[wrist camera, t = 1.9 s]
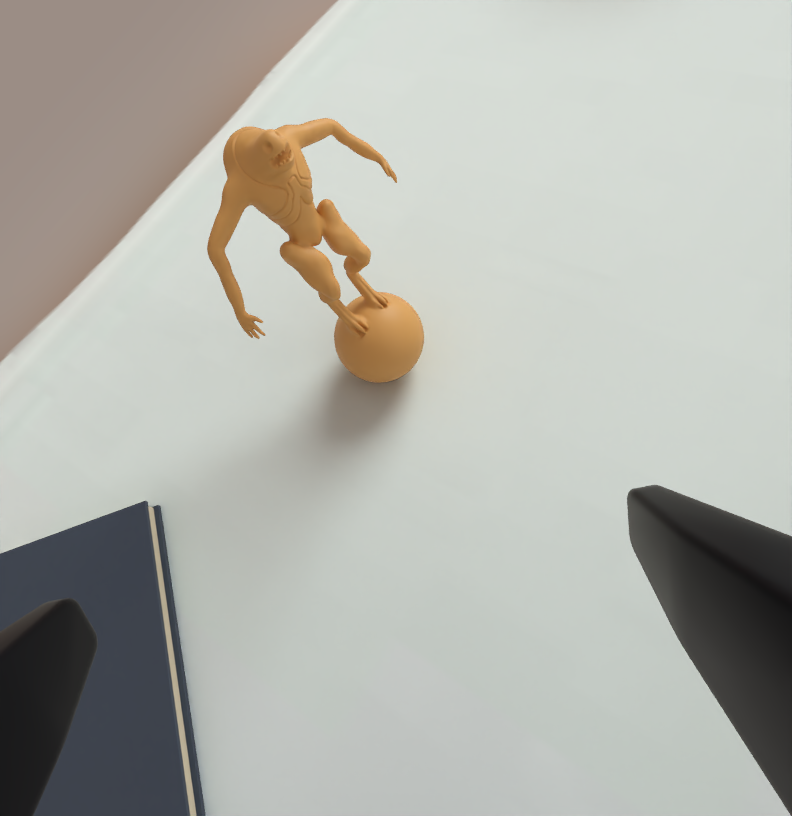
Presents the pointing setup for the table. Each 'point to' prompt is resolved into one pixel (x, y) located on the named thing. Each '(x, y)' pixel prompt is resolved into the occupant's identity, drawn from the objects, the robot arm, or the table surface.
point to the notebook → (115, 667)
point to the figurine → (296, 214)
